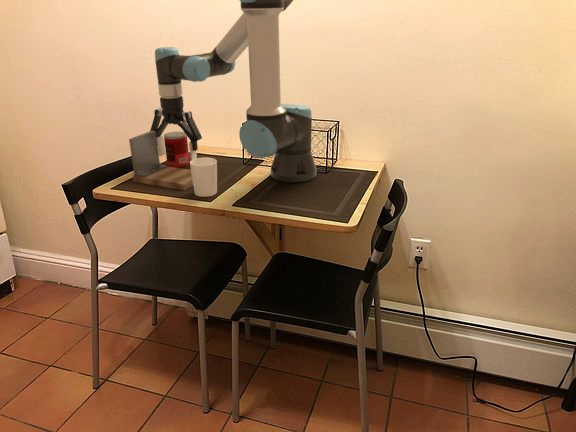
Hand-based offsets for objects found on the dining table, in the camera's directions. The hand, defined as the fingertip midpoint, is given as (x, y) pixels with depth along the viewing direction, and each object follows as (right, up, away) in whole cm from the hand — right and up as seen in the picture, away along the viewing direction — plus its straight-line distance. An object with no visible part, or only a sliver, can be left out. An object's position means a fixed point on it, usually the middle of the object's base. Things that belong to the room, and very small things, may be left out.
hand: (177, 157), depth 175 cm
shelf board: (0, -9, -13) cm, 16 cm away
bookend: (-6, -6, -11) cm, 14 cm away
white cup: (+14, -14, -24) cm, 31 cm away
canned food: (0, -3, +1) cm, 3 cm away
